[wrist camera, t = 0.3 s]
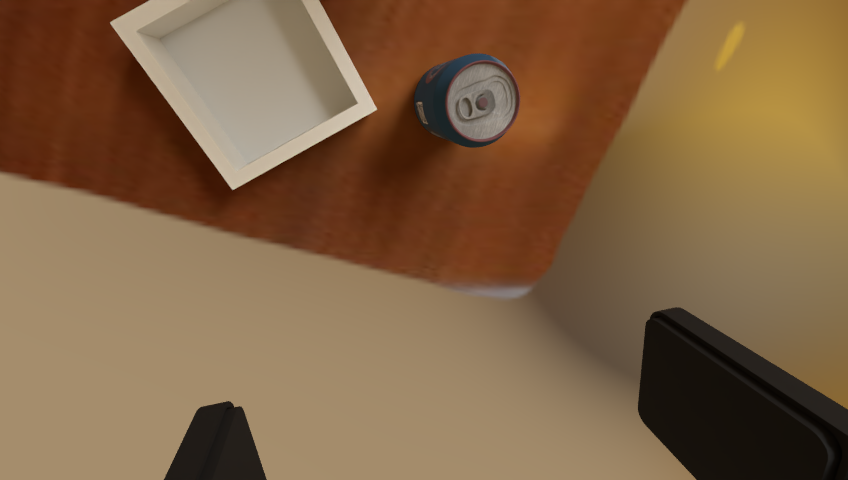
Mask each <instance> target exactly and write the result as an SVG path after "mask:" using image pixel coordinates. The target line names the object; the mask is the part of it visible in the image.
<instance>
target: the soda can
mask: <svg viewBox="0 0 848 480" xmlns="http://www.w3.org/2000/svg"><path fill="white" fill-rule="evenodd" d="M519 106H520V92H519V87H518V84H517V82H516V80H515V78H514V76H513V75H512V73H511V72H510V70H509V69H508V68H507V67H506V65H504V64H503V63H502V62H501V61H500V60H498V59H496V58H494V57H492V56H490V55H486V54H470V55H466V56H463V57H460V58H457V59H454V60H451V61H449V62H446V63H443V64H440V65H437V66H435V67H433V68H431V69H430V70H429V71H427V72H426V73H425V74H424V75H423V77H422V78H421V80H420V81H419V83H418V85H417V88H416V91H415V96H414V107H415V112H416V115H417V117H418V119H419V121H420V123H421V124H422V125H423V127H424V128H425V129H426V130H427V131H429V132H430V133H432V134H434V135H436V136H438V137H441V138H443V139H446V140H449V141H451V142H454V143H456V144H459V145H462V146H465V147H483V146H486V145H489V144H491V143H493V142H495V141H496V140H498V139H499V138H501V137H502V136H503V135H504V134H505V133H506V132H507V130H508V129H509V128H510V127H511V126H512V124H513V123H514V121H515V119H516V117H517V114H518V111H519Z"/></svg>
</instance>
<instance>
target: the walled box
mask: <svg viewBox="0 0 848 480" xmlns="http://www.w3.org/2000/svg"><path fill="white" fill-rule="evenodd" d="M110 24H111V25H112V27H113V28H114V29H115V31H116V32H117V33H118V35H119V36H120V37H121V39H122V40H123V42H124V43H125V44H126V46H127V47H128V48H129V50H130V51H131V52H132V54H133V55H134V57H135V58H136V59H137V61H138V62H139V63H140V65H141V66H142V67H143V69H144V70H145V72H146V73H147V74H148V76H149V77H150V78H151V80H152V81H153V82H154V84H155V85H156V86H157V88H158V89H159V91H160V92H161V93H162V95H163V96H164V97H165V99H166V100H167V101H168V103H169V104H170V106H171V107H172V108H173V110H174V111H175V112H176V114H177V115H178V116H179V118H180V119H181V121H182V122H183V123H184V125H185V126H186V127H187V129H188V130H189V131H190V133H191V134H192V135H193V137H194V138H195V140H196V141H197V142H198V144H199V145H200V146H201V148H202V149H203V150H204V152H205V153H206V155H207V156H208V157H209V159H210V160H211V161H212V163H213V164H214V165H215V167H216V168H217V170H218V171H219V172H220V174H221V175H222V176H223V178H224V179H225V180H226V182H227V183H228V184H229V186H230V187H231V189H232V190H234V189H236V188H237V187H239V186H241V185H243V184H245V183H246V182H248V181H250V180H252V179H254V178H255V177H257V176H259V175H261V174H263V173H264V172H266V171H268V170H270V169H272V168H273V167H275V166H277V165H279V164H281V163H282V162H284V161H286V160H288V159H290V158H291V157H293V156H295V155H297V154H299V153H300V152H302V151H304V150H306V149H308V148H309V147H311V146H313V145H315V144H316V143H318V142H320V141H322V140H324V139H325V138H327V137H329V136H331V135H333V134H334V133H336V132H338V131H340V130H342V129H343V128H345V127H347V126H349V125H351V124H352V123H354V122H356V121H358V120H360V119H361V118H363V117H365V116H367V115H369V114H370V113H372V112H374V111H376V110H377V108H376V106H375V105H374V103H373V101H372V99H371V97H370V95H369V93H368V91H367V89H366V88H365V86H364V84H363V82H362V80H361V78H360V76H359V74H358V73H357V71H356V69H355V67H354V65H353V63H352V61H351V59H350V57H349V56H348V54H347V52H346V50H345V48H344V46H343V44H342V42H341V40H340V39H339V37H338V35H337V33H336V31H335V29H334V27H333V25H332V24H331V22H330V20H329V18H328V16H327V14H326V12H325V10H324V8H323V7H322V5H321V3H320V1H319V0H149V1H148V2H146V3H144V4H142V5H140V6H139V7H137V8H135V9H133V10H131V11H130V12H128V13H126V14H124V15H122V16H121V17H119V18H117V19H115V20H113V21H112V22H110Z"/></svg>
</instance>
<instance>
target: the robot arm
mask: <svg viewBox="0 0 848 480" xmlns="http://www.w3.org/2000/svg"><path fill="white" fill-rule="evenodd" d="M638 412H639V415H640V417H641V419H642V421H643V422H644V424H645V425H646V426H647V427H648V428H649V429H650V430H651V431H652V432H653V433H654V435H655V436H656V437H657V438H658V439H659V440H660V441H661V442H662V443H663V444H664V445H665V446H666V447H667V448H668V449H669V451H670V452H671V453H672V454H673V455H674V456H675V457H676V458H677V459H678V460H679V461H680V462H681V463H682V465H684V467H685V468H686V469H687V470H688V471H689V472H690V473H691V474H692V475H693V476H694V477H695V478H696V480H848V409H846V408H844V407H843V406H841V405H840V404H838V403H836V402H835V401H833V400H831V399H830V398H828V397H826V396H825V395H823V394H822V393H820V392H818V391H817V390H815V389H813V388H812V387H810V386H808V385H807V384H805V383H804V382H802V381H800V380H799V379H797V378H795V377H794V376H792V375H790V374H789V373H787V372H786V371H784V370H782V369H781V368H779V367H777V366H776V365H774V364H772V363H771V362H769V361H767V360H766V359H764V358H763V357H761V356H759V355H758V354H756V353H754V352H753V351H751V350H750V349H748V348H746V347H745V346H743V345H741V344H740V343H738V342H736V341H735V340H733V339H732V338H730V337H728V336H726V335H725V334H723V333H722V332H720V331H718V330H717V329H715V328H713V327H712V326H710V325H708V324H707V323H705V322H704V321H702V320H700V319H699V318H697V317H695V316H694V315H692V314H690V313H689V312H687V311H686V310H684V309H682V308H671V309H666V310H661V311H657V312H654V313H653V314H652V315H651V317H650V320H648V321H647V322H646V326H645V337H644V349H643V359H642V369H641V380H640V390H639V401H638ZM164 480H267V479H266V477H265V473H264V470H263V467H262V464H261V461H260V458H259V455H258V452H257V449H256V446H255V443H254V440H253V437H252V434H251V431H250V428H249V425H248V422H247V419H246V416H245V413H244V410H243V408H242V407H240V406H239V407H234V406H233V404H232V403H231V402H229V401H228V402H223V403H218V404H214V405H208V406H204V407H200V408H199V409H198V410H197V412H196V413H195V416H194V418H193V420H192V422H191V424H190V426H189V428H188V430H187V432H186V434H185V437H184V439H183V441H182V443H181V445H180V447H179V449H178V451H177V453H176V456H175V458H174V460H173V462H172V464H171V466H170V468H169V470H168V472H167V474H166V477H165V479H164Z"/></svg>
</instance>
